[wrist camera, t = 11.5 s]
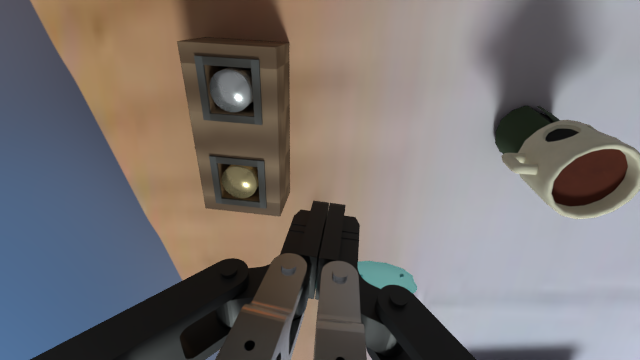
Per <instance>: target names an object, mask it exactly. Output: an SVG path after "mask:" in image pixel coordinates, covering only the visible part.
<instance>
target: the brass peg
mask: <svg viewBox="0 0 640 360" xmlns="http://www.w3.org/2000/svg"><path fill="white" fill-rule="evenodd" d="M222 184H223V187H224V188H225V190H226V191H227V192H228V193H229V194H231V195H232V196H234V197H237V198H248V197H250V196H252V195H253V194H254V193H255V191H256V189H257V188H258V186H259V183H258V167H251V166H241V165H230V166H229V167H228V168H227V169H226V170H225V171H224V173H223V175H222Z"/></svg>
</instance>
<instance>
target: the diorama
mask: <svg viewBox="0 0 640 360" xmlns="http://www.w3.org/2000/svg"><path fill="white" fill-rule="evenodd" d="M358 271H359V274H360V275H361V277H362V278H363V279H364V280H365V281H366V282H368V283H369V284H371V285H373V286H376V287H378V288H380V289H381V288H383V287H384V286H387V285H399V286H402V287H404V288H406V289H408V290H409V291H410V292H411V293H414V292H416V290H417V285H416V284H415V283H414V280H413V276H412V275H411V274H409V273H408V272H407V271H405V270H404V269H402V268H399V267H396V266H393V265H390V264H387V263H381V262H373V261H362V262H358ZM316 285H317V284H316Z"/></svg>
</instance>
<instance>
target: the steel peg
mask: <svg viewBox="0 0 640 360" xmlns="http://www.w3.org/2000/svg"><path fill="white" fill-rule="evenodd" d="M210 93H211V96H212V99H213V100H214V102H215V103H216V104H217V105H218V106H219V107H220V108H222V109H223V110H225V111H228V112H239V111H242V110H243V109H245V108H246V107H247V106H248V105H250V104H251V103H252V102H253V88H252V73H251V68H241V67H228V68H225V69H223V70H220V71H218V72H217V73H215V74H214V75H213V77H212V79H211V81H210Z"/></svg>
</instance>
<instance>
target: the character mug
mask: <svg viewBox="0 0 640 360" xmlns="http://www.w3.org/2000/svg"><path fill="white" fill-rule="evenodd" d="M537 107H538V108H540V109H541V110H542V111H543V112H545V113H546V114H547V115H546V114H543V113H540V112H537V111H535V110H533V109H532V108H530V107H529V106H523V107H521V108H518V109H516V110H513V111H511V112H510V113H509V114H508V115H507V116H505V117H504V118H503V119H502V120H501V122H500V124H499V126H498V128H497V130H496V139H495V143H496V145H497V147H498V149H499V151H500V152H502V153H503V155H502V160H503V162H504V163H505V165H506V166H507V167H508V168H509V169H510V170H511V171H513V172H514V173H518V174H520V177H521V178H522V179H523V180H524V181H525V182H526V183H527V184H528V185H529V186H530V187H531V188H532V190H533V191H534V192H535V193H536V194H537V195H538V196H539V197H540V198H541V199H542V200H543V201H544V202H545V203H546V204H547V205H549V206H550V207H551V208H552V209H554V210H555V211H556V212H558V213H559V214H560V215H562V216H566V217H570V218H574V219H584V218H595V217H598V216H601V215H604V214H607V213H610V212H613V211H615V210H616V209H618V208H619V207H621V206H622V205H624V204H626V203H627V202H629V201H630V200H631V199H632V198H633V197H634V196H635V195H636V193H637V192H638V191H639V190H640V153H639V152H638V151H637V150H636V149H635V148H633V147H631V146H630V145H627V144H625V143H623V142H621V141H620V140H618V139H617V138H615V137H612V136H609V135H606V134H604V133H601V132H599V131H597V130H596V129H594V128H593V127H592V126H590V125H587V124H584V123H581V122H578V121H571V120H559V119H558V118H556V117H555V116H554V115H552V114H551V113H550V112H548V111H547V110H545V109H543V108H542V107H540V106H537Z"/></svg>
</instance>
